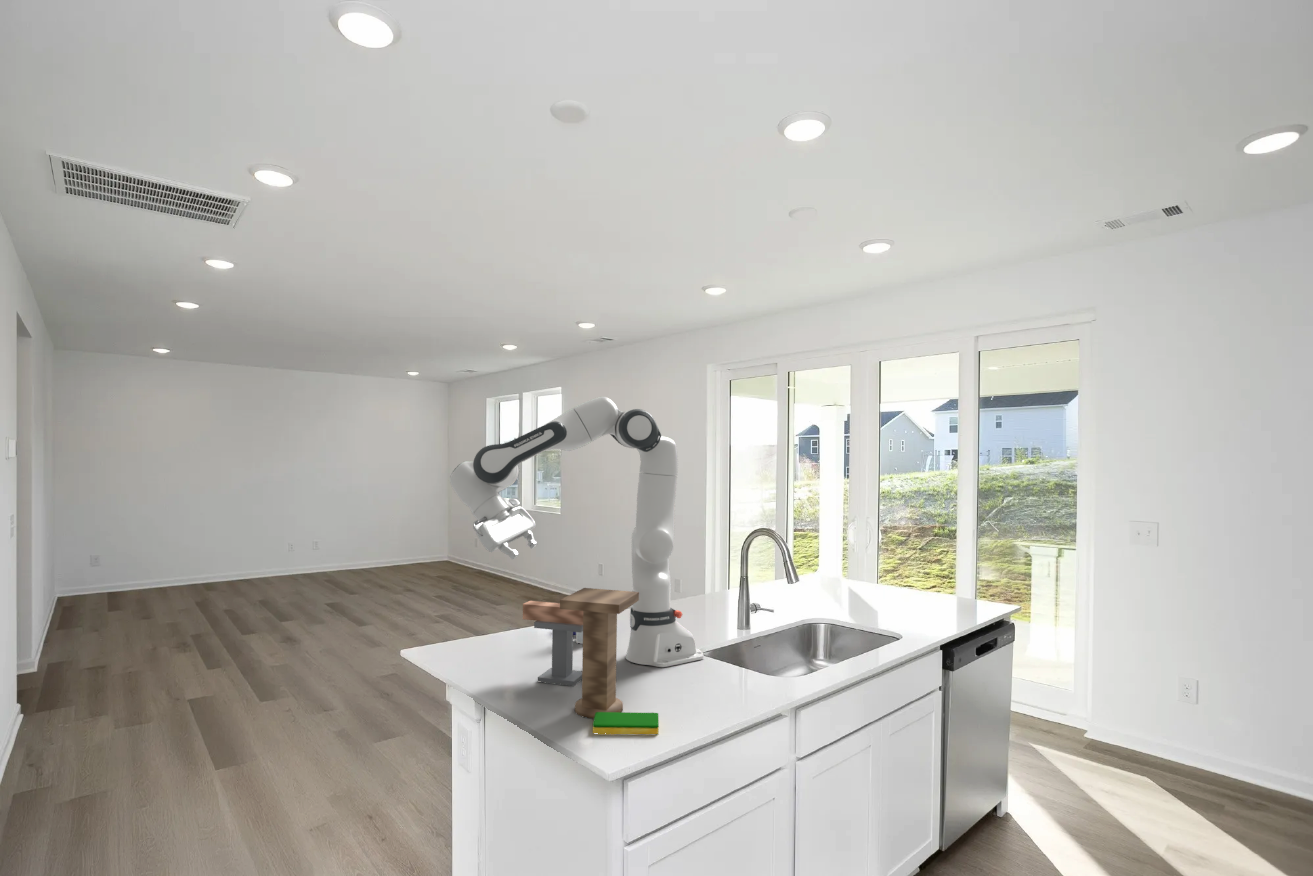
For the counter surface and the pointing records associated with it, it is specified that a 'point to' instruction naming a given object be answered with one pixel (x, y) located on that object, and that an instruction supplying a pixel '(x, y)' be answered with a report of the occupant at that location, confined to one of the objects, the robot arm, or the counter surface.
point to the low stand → (561, 653)
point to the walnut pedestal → (599, 646)
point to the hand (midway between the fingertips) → (525, 551)
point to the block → (551, 613)
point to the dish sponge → (625, 723)
